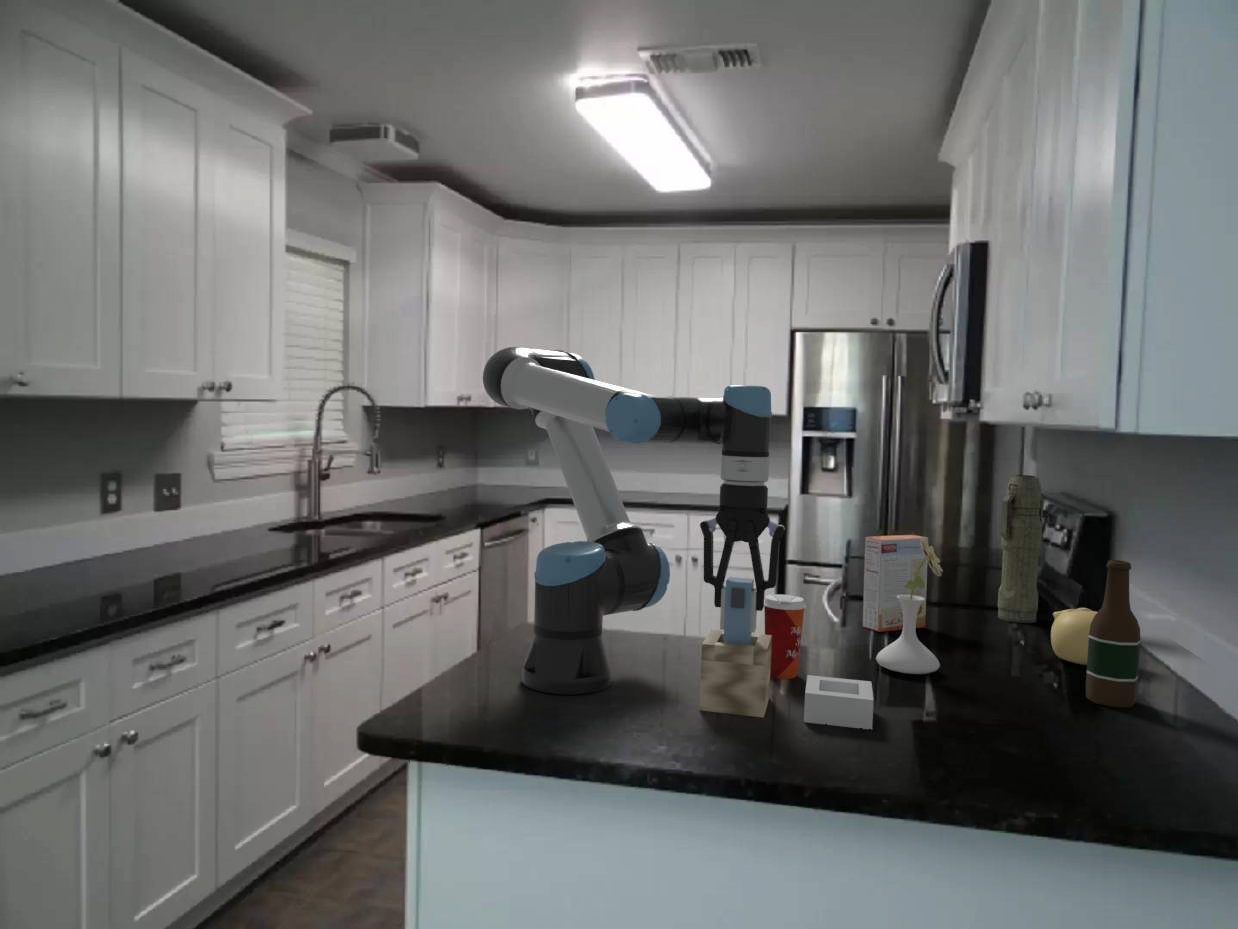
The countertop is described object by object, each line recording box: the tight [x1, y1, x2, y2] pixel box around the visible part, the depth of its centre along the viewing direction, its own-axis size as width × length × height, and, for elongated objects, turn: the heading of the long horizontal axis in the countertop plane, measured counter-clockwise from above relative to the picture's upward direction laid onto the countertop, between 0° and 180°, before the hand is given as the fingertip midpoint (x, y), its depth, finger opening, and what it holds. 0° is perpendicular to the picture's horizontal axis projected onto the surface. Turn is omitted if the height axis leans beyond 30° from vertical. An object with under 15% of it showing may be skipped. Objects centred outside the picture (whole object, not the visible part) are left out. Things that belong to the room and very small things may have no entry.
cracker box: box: [862, 534, 929, 633], centre depth 200 cm, size 14×6×21 cm, turn 116°
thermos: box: [997, 474, 1045, 624], centre depth 214 cm, size 9×12×35 cm
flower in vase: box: [875, 536, 944, 675], centre depth 165 cm, size 13×11×25 cm
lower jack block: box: [803, 674, 875, 731], centre depth 138 cm, size 10×10×4 cm
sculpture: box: [1050, 607, 1098, 666], centre depth 175 cm, size 12×12×11 cm
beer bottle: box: [1085, 559, 1141, 709], centre depth 149 cm, size 8×8×24 cm
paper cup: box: [763, 593, 807, 680], centre depth 159 cm, size 8×8×14 cm
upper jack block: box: [699, 629, 772, 719], centre depth 141 cm, size 10×10×10 cm
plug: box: [723, 576, 755, 645], centre depth 141 cm, size 4×5×12 cm
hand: (738, 628), depth 141 cm, fingers closed on plug, 4 cm apart
